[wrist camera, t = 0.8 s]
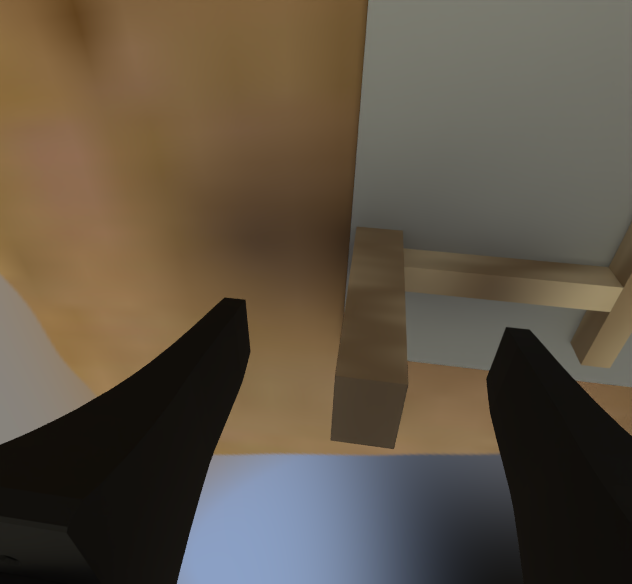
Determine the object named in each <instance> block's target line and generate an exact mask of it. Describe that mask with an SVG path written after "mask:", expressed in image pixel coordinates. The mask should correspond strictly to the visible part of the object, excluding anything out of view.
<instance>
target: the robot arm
mask: <svg viewBox="0 0 632 584" xmlns="http://www.w3.org/2000/svg"><path fill="white" fill-rule="evenodd" d="M249 355H250V342H249V332H248V321H247V311H246V300H243V299H233V298H224V299H223V300H221V301H220V302H219V303H218V304H217V305H216V306H215V307H214V308H213V309H212V310H210V311H209V312H208V313H207V314H206V315H205V316H204V317H203V318H202V319H201V320H200V321H199V322H197V323H196V324H195V325H194V326H193V327H192V328H191V329H190V330H189V331H187V332H186V333H185V334H184V335H183V336H182V337H181V338H179V339H178V340H177V341H176V342H175V343H174V344H172V345H171V346H170V347H169V348H168V349H166V350H165V351H164V352H162V353H161V354H160V355H159V356H157V357H156V358H155V359H154V360H152V361H151V362H150V363H149V364H147V365H146V366H145V367H143V368H142V369H140V370H139V371H138V372H136V373H135V374H133V375H132V376H130V377H129V378H127V379H126V380H124V381H123V382H121V383H120V384H118V385H117V386H115V387H114V388H112V389H110V390H109V391H107V392H105V393H104V394H102V395H100V396H98V397H97V398H95V399H93V400H91V401H90V402H88V403H86V404H85V405H83V406H81V407H80V408H78V409H76V410H74V411H72V412H70V413H68V414H66V415H65V416H62V417H60V418H59V419H56V420H54V421H52V422H50V423H48V424H47V425H44V426H42V427H40V428H38V429H36V430H34V431H31V432H29V433H27V434H25V435H23V436H20V437H18V438H15V439H13V440H11V441H8V442H6V443H3V444H1V445H0V584H177V580H178V576H179V572H180V568H181V564H182V560H183V556H184V553H185V549H186V545H187V541H188V537H189V533H190V530H191V526H192V523H193V519H194V515H195V512H196V508H197V505H198V501H199V497H200V494H201V491H202V487H203V484H204V481H205V477H206V474H207V471H208V467H209V464H210V461H211V459H212V456H213V453H214V450H215V448H216V445H217V443H218V440H219V438H220V436H221V433H222V431H223V428H224V426H225V423H226V421H227V419H228V416H229V414H230V411H231V409H232V406H233V404H234V402H235V399H236V397H237V394H238V392H239V389H240V387H241V384H242V381H243V378H244V374H245V370H246V367H247V363H248V359H249ZM486 380H487V390H488V400H489V408H490V414H491V419H492V423H493V427H494V431H495V435H496V439H497V443H498V447H499V451H500V455H501V458H502V462H503V466H504V470H505V474H506V478H507V481H508V485H509V489H510V494H511V499H512V504H513V508H514V515H515V522H516V528H517V536H518V542H519V550H520V558H521V566H522V573H523V582H524V584H632V436H631V435H630V434H629V433H628V432H626V431H625V430H624V429H623V428H622V427H621V426H620V425H619V424H618V423H617V422H616V421H615V420H614V419H613V418H612V417H611V416H610V415H609V414H607V413H606V412H605V411H604V410H603V409H602V408H601V407H600V406H599V405H598V404H597V403H596V402H595V401H594V400H593V399H592V398H591V397H590V396H589V395H588V394H587V393H586V391H585V390H584V389H583V388H582V387H581V386H580V385H579V384H578V383H577V382H576V381H575V380H574V379H573V378H572V376H571V375H570V374H569V373H568V372H567V371H566V370H565V369H564V368H563V366H562V365H561V364H560V363H559V362H558V361H557V360H556V359H555V357H554V356H553V355H552V354H551V353H550V352H549V351H548V349H547V348H546V347H545V346H544V345H543V344H542V343H541V341H540V340H539V339H538V338H537V337H536V336H535V335H534V334H533V333H532V331H531V330H530V329H521V328H512V327H506V328H505V331H504V333H503V336H502V339H501V341H500V344H499V347H498V349H497V352H496V355H495V357H494V360H493V363H492V365H491V368H490V371H489V373H488V376H487V379H486Z"/></svg>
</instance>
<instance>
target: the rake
mask: <svg viewBox="0 0 632 584" xmlns="http://www.w3.org/2000/svg"><path fill="white" fill-rule="evenodd" d="M405 291H406V292H416V293H426V294H436V295H446V296H455V297H465V298H475V299H485V300H495V301H505V302H515V303H525V304H534V305H544V306H554V307H564V308H574V309H584V310H587V311H586V313H585V315H584V317H583V318H582V320H581V322H580V324H579V326H578V328H577V330H576V332H575V334H574V336H573V338H572V340H571V342H570V343H571V345H572V347H573V350H574V352H575V354H576V356H577V358H578V360H579V362H580V364H581V365H585V366H594V367H602V368H610V367H611V366H612V364H613V362H614V361H615V359H616V357H617V356H618V354H619V352H620V351H621V349H622V348H623V346H624V344H625V343H626V341H627V339H628V338H629V336H630V335H631V333H632V222H631V224H630V226H629V228H628V230H627V232H626V234H625V236H624V238H623V240H622V242H621V244H620V246H619V248H618V250H617V252H616V254H615V256H614V258H613V260H612V262H611V264H610V265H609V267H602V266H591V265H580V264H569V263H558V262H547V261H536V260H525V259H515V258H504V257H493V256H482V255H471V254H460V253H449V252H438V251H427V250H416V249H405V248H403V231H402V230H390V229H379V228H367V227H356V234H355V241H354V248H353V255H352V262H351V269H350V276H349V283H348V290H347V297H346V304H345V311H344V318H343V324H342V331H341V338H340V345H339V352H338V359H337V366H336V373H335V384H334V399H333V413H332V427H331V440H332V441H339V442H346V443H353V444H361V445H368V446H375V447H382V448H390V449H394V447H395V442H396V438H397V433H398V429H399V424H400V420H401V415H402V410H403V406H404V401H405V397H406V392H407V388H408V364H407V335H406V306H405Z"/></svg>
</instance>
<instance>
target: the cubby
mask: <svg viewBox="0 0 632 584" xmlns="http://www.w3.org/2000/svg"><path fill="white" fill-rule="evenodd" d="M631 222H632V0H369V2H368V14H367V27H366V40H365V53H364V65H363V78H362V91H361V104H360V116H359V129H358V142H357V155H356V167H355V180H354V193H353V206H352V218H351V231H350V244H349V257H348V270H347V282H346V295H345V304H346V297H347V290H348V283H349V276H350V269H351V262H352V255H353V248H354V241H355V234H356V227H367V228H379V229H390V230H402V231H403V248H405V249H416V250H427V251H438V252H449V253H460V254H471V255H482V256H493V257H504V258H515V259H525V260H536V261H547V262H558V263H569V264H580V265H591V266H602V267H609V265H610V264H611V262H612V260H613V258H614V256H615V254H616V252H617V250H618V248H619V246H620V244H621V242H622V240H623V238H624V236H625V234H626V232H627V230H628V228H629V226H630V224H631ZM405 306H406V335H407V361H413V362H421V363H430V364H439V365H447V366H456V367H464V368H473V369H481V370H490V368H491V365H492V363H493V360H494V357H495V355H496V352H497V349H498V347H499V344H500V341H501V339H502V336H503V333H504V331H505V328H506V327H512V328H521V329H530V330H531V331H532V333H533V334H534V335H535V336H536V337H537V338H538V339H539V340H540V341H541V343H542V344H543V345H544V346H545V347H546V348H547V349H548V351H549V352H550V353H551V354H552V355H553V356H554V357H555V359H556V360H557V361H558V362H559V363H560V364H561V365H562V366H563V368H564V369H565V370H566V371H567V372H568V373H569V374H570V375H571V376H572V378H573V379H574V380H575V381H584V382H592V383H601V384H609V385H618V386H626V387H632V333H631V335H630V336H629V338H628V339H627V341H626V343H625V344H624V346H623V348H622V349H621V351H620V352H619V354H618V356H617V357H616V359H615V361H614V362H613V364H612V366H611V367H610V368H602V367H594V366H585V365H581V364H580V362H579V360H578V358H577V356H576V354H575V352H574V350H573V347H572V345H571V343H570V342H571V340H572V338H573V336H574V334H575V332H576V330H577V328H578V326H579V324H580V322H581V320H582V318H583V317H584V315H585V313H586V311H587V310H584V309H574V308H564V307H554V306H544V305H534V304H525V303H515V302H505V301H495V300H485V299H475V298H465V297H455V296H446V295H436V294H426V293H416V292H406V291H405ZM344 311H345V308H344Z"/></svg>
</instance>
